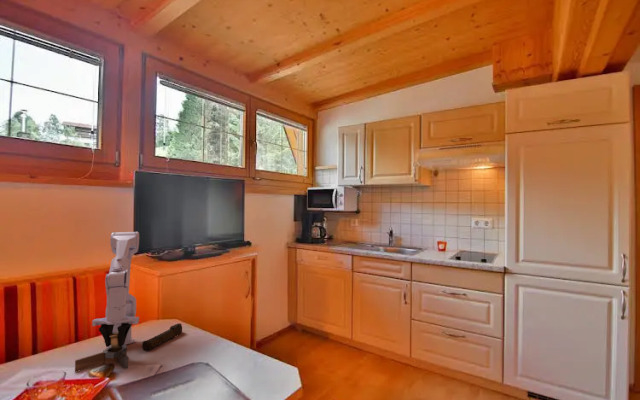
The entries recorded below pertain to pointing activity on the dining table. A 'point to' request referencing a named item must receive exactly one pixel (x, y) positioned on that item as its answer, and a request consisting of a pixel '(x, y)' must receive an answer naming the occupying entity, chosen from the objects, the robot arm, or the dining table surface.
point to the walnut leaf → (93, 361)
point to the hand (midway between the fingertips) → (115, 345)
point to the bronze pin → (114, 341)
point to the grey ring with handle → (118, 355)
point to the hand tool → (162, 337)
